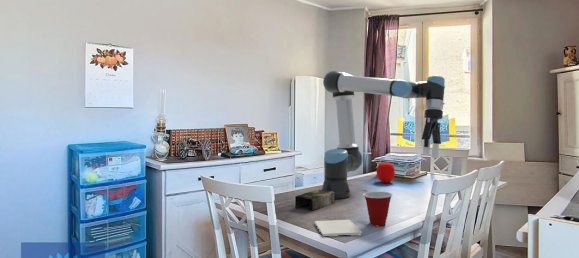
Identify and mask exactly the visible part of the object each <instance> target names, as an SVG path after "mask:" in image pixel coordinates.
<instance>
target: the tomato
mask: <svg viewBox="0 0 579 258" xmlns="http://www.w3.org/2000/svg"><path fill="white" fill-rule="evenodd" d="M395 170H396V169H395V166H394V165H393V164H392V163H391V162H389V161H381V162H380V163H378V165H377V166H376V176H377V178H378V180H379V181H380V182H381V183H390V182H392V181H393V180H394V177H395V174H396V172H395Z"/></svg>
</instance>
